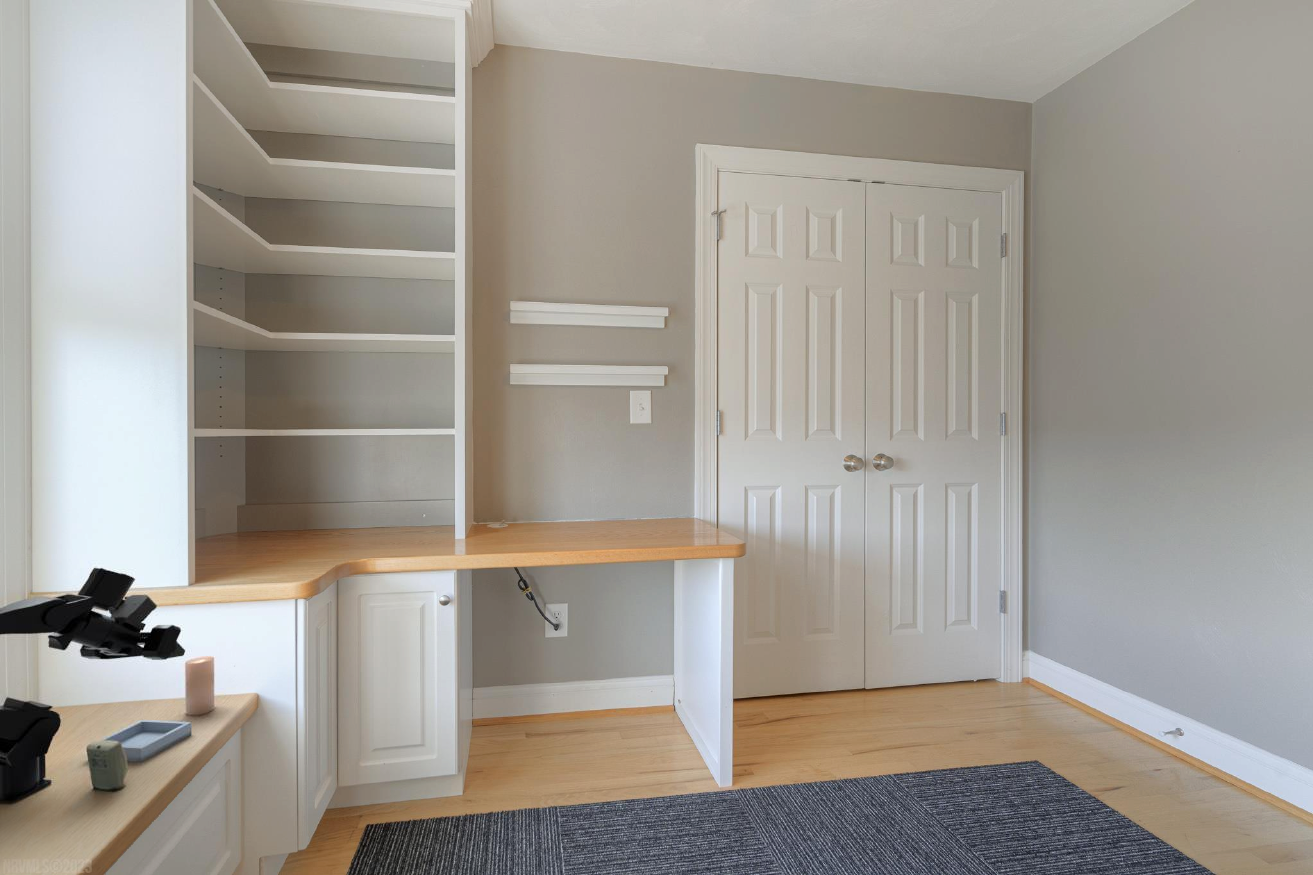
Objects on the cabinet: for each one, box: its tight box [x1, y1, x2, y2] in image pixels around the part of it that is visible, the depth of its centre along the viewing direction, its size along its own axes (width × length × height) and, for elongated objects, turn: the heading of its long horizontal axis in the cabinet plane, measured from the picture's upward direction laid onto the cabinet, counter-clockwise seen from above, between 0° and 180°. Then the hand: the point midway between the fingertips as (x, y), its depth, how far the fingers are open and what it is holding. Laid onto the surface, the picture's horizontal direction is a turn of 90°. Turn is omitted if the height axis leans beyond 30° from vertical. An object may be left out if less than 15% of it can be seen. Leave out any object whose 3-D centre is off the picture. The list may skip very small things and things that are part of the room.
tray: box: [98, 719, 192, 763], centre depth 125 cm, size 11×11×2 cm
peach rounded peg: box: [184, 655, 216, 716], centre depth 141 cm, size 5×5×11 cm
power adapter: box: [86, 740, 129, 792], centre depth 110 cm, size 6×5×8 cm
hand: (164, 653), depth 133 cm, fingers open, 9 cm apart
